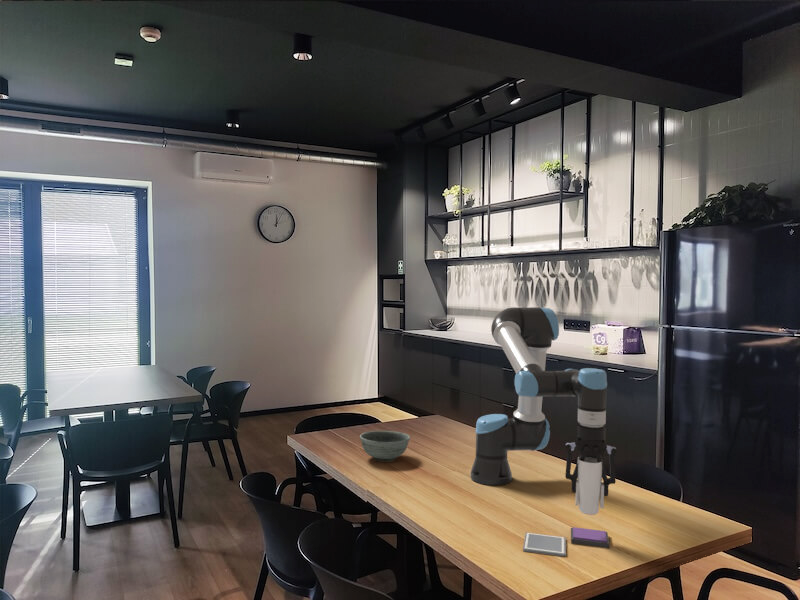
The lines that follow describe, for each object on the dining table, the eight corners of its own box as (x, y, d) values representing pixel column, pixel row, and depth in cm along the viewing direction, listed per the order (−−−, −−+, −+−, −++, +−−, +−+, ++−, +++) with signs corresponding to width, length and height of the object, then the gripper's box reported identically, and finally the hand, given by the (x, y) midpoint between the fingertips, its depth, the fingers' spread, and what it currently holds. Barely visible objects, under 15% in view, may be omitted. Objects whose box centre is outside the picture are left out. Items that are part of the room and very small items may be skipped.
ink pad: (571, 543, 159) (571, 537, 159) (570, 531, 166) (570, 526, 166) (609, 548, 156) (609, 542, 156) (607, 536, 164) (607, 530, 164)
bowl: (350, 463, 230) (350, 438, 230) (372, 450, 249) (372, 427, 249) (398, 469, 222) (398, 444, 222) (417, 455, 241) (417, 432, 241)
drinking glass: (572, 507, 165) (573, 455, 164) (595, 506, 165) (596, 455, 165) (581, 517, 158) (583, 463, 157) (605, 516, 159) (606, 463, 158)
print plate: (522, 551, 154) (523, 548, 154) (525, 534, 164) (525, 532, 164) (565, 556, 151) (565, 554, 151) (565, 539, 161) (565, 537, 161)
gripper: (556, 424, 160) (554, 506, 161) (629, 430, 154) (626, 514, 155) (556, 418, 167) (554, 496, 168) (626, 423, 162) (623, 504, 163)
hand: (589, 505), depth 162 cm, fingers closed on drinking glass, 6 cm apart
